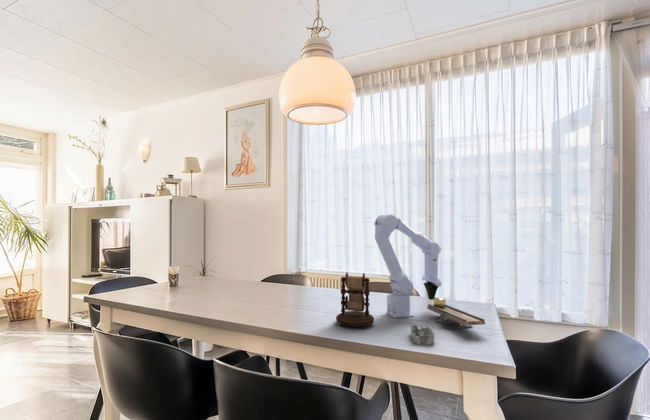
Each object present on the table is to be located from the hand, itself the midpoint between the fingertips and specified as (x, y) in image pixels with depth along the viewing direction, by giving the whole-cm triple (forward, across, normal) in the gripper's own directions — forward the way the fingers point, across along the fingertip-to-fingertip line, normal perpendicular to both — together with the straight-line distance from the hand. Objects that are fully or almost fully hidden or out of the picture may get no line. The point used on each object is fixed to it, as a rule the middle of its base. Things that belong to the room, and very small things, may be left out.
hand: (431, 299), depth 144 cm
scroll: (+6, -12, +38) cm, 40 cm away
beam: (+2, -18, 0) cm, 19 cm away
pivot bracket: (+6, -18, 0) cm, 19 cm away
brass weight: (+2, -8, 0) cm, 8 cm away
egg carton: (+6, -31, +19) cm, 37 cm away
